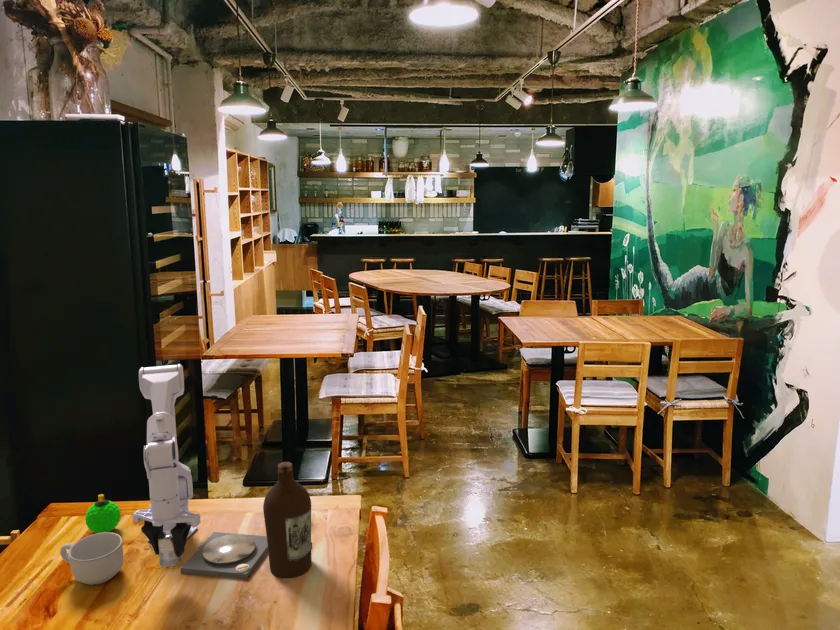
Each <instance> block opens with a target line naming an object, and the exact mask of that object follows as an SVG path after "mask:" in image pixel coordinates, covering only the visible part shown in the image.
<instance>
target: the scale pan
mask: <svg viewBox="0 0 840 630" xmlns="http://www.w3.org/2000/svg"><path fill="white" fill-rule="evenodd" d="M247 535H248V534H245V535H243V533H233V534H230V535H225V536H221V537H218V538H216V539H214V540H212V541H210V542H209V543H207V544H206V545H205V546H204V548H203V551H202V554H203V558H204V559H205V560H206V561H208V562H210V563H213V564H230V563H234V562H238V561H241V560H243V559H245V558H247V557H248V556H250V555H251V554H252V553H253V552H254V550H255V541H254V539H253V538H251V537H250V536H247Z"/></svg>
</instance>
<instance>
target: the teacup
mask: <svg viewBox="0 0 840 630" xmlns="http://www.w3.org/2000/svg"><path fill="white" fill-rule="evenodd" d="M67 549H68V551H67ZM59 550H60V551H59V553H60V556H61V558H62V559H63V560H64V561H65V562H66V563H68V564H70V568H71V572H72V576H73V577H74V578H75V580H76V581H77V582H80V583H82V584H86V585H91V586H93V585H94V584H95V585H101V584H104V583H105V582H108V581H109V580H111V579H113V577H114V576H116V575H117V574H118V573H119V571H121V568H122V567H123V566H124V565H123V564H124V549H123V537H122V536H121V535H120V534H118V533H117V532H116V533H115V532H111V531H110V532H103V533H94V534H93V533H92V534H90V535H87V536H84V537H83V538H80V539H78V541H75V543H72V542H67V543H64V544H63V545H62V546H61V547H60V549H59Z"/></svg>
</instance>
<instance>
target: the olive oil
mask: <svg viewBox="0 0 840 630" xmlns="http://www.w3.org/2000/svg"><path fill="white" fill-rule="evenodd" d="M277 469H278V470H277V482H276V483H274V485H273V486H272V487H271V488H270V489H269V490H268V492H267V493H266V495H265V498H264V499H263V507H262V509H263V517H264V525H265V526H264V527H265V534H266V535H265V536H267V544H268V551H267V552H268V562H269V570H270V573H272V575H274V576H276V577H279V578H284V579H290V578H295V577H299V576H301V575H304V574H305V573H306V572H308V571H309V570H310V568H311V567H312V550H313V541H312V500H311V497H310V496H311V495H310V494H309V491H308V490H307V489H306V488H305V486H303V485H302V484H300V483H299V482H298V481H297V480H295V478H294V469H293V463H292V462H290V461H283V462H282V461H281V462H280V463H278V464H277Z"/></svg>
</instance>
